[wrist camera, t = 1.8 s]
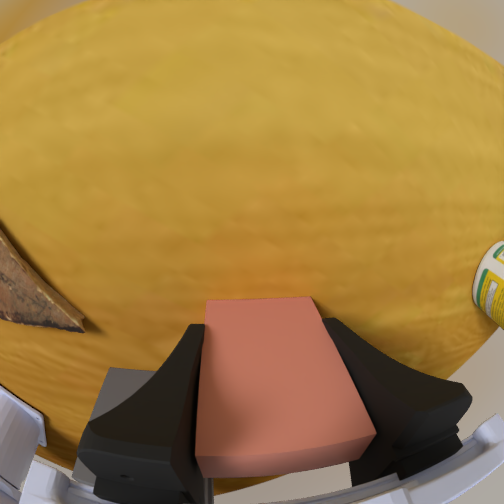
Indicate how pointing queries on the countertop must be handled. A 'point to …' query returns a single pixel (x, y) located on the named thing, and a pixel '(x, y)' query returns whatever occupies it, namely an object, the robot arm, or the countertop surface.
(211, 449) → the red domino
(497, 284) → the supplement bottle
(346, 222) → the countertop surface
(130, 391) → the domino
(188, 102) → the countertop surface
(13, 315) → the shard
